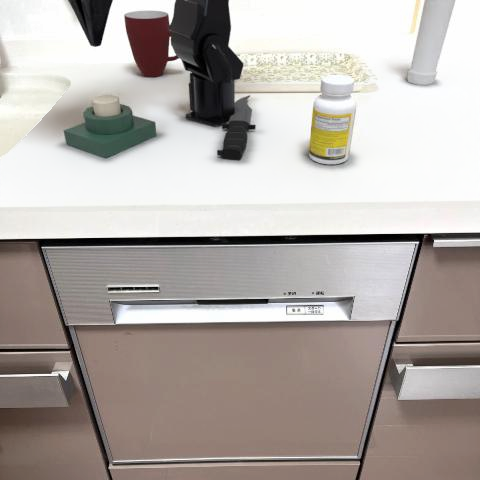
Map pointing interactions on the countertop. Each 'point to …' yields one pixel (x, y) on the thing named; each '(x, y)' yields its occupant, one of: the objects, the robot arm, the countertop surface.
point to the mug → (149, 40)
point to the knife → (237, 131)
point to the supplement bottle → (333, 120)
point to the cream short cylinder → (106, 105)
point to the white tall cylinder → (430, 40)
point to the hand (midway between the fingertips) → (95, 46)
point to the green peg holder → (109, 132)
